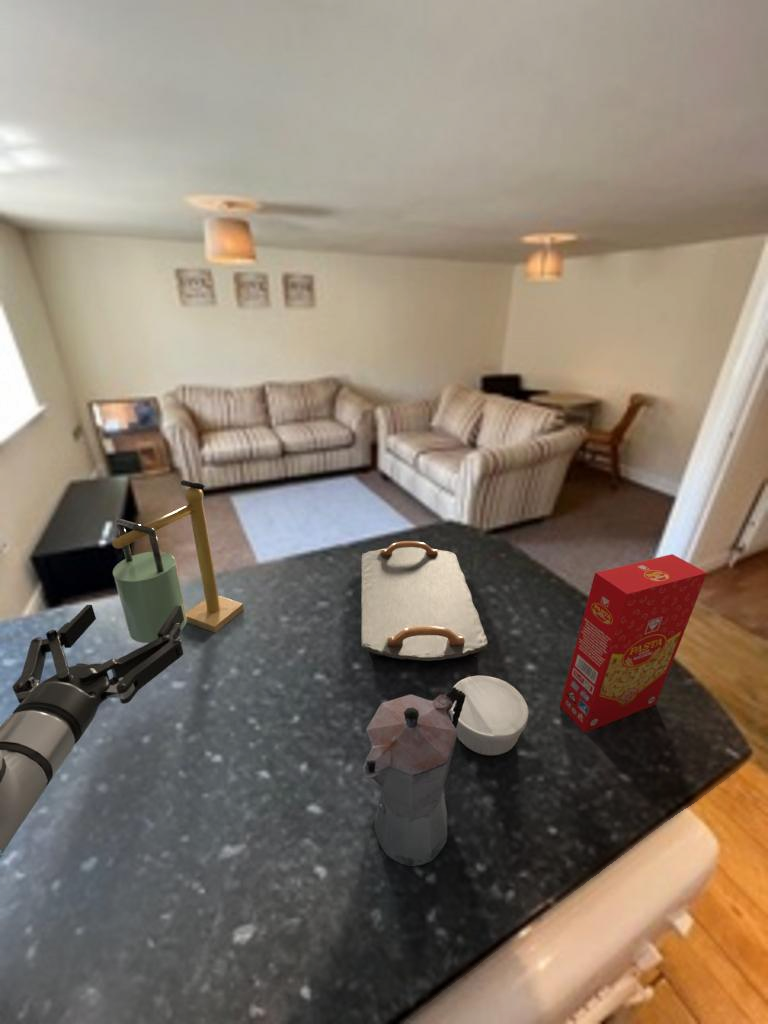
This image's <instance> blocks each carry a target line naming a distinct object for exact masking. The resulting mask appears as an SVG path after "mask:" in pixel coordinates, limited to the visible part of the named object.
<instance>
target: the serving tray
mask: <svg viewBox="0 0 768 1024" xmlns="http://www.w3.org/2000/svg"><path fill="white" fill-rule="evenodd" d="M360 567H361V574H360V578H361V585H360V586H361V593H360V596H361V598H360V601H361V605H360V609H361V613H360V615H361V623H360V625H361V628H360V629H361V631H360V632H361V637H360V638H361V647H362V649H363V650H365V651H367V652H368V654H369V656H370V658H371V659H378V658H379V656H385V657H388V658H392V659H397V660H411V661H420V662H431V661H433V662H434V661H444V660H448V659H457V658H462V657H466V656H469V655H470V654H471V655H472V656H477V657H478V656H479V655H480V654H481V651H483V650H485V649H488V646H489V642H488V639H487V635H486V632H485V630H484V627H483V625H482V622H481V619H480V614H479V612H478V610H477V608H476V607H475V604H474V603H473V596H472V592H471V590H470V588H469V587H468V584H467V580H466V576H465V574H464V573H463V571H462V568H461V566H460V563H459V560H458V557H457V555H456V554H455V553H454V552H451V551H449V550H441V549H437V548H432V547H430V546H429V545H428V544H427V543H425V542H422V541H417V540H404V541H397V542H394V543H392V544H390V545H389V546H388V547H386V548H380V549H375V550H369V551H366V552H364V553H362V554H361V565H360ZM471 655H470V656H471ZM472 656H471V657H472Z"/></svg>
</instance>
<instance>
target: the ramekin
mask: <svg viewBox="0 0 768 1024" xmlns="http://www.w3.org/2000/svg"><path fill="white" fill-rule="evenodd" d="M453 687H455V688H456V689H457V690H458V689H459V691H462V692H463V693H464V694H465V695H466V697H465V701H464V704H463V707H462V711H461V713H460V717H459V719H458V724H457V727H456V731H457V733H458V734H457V738H458V740H459V742H461V744H463V745H464V746H465V747H466V748H468V749H469V750H471V751H473V752H474V753H477V754H479V755H483V756H498V755H502V754H505V753H507V752H509V751H510V750H512V749H513V748H514V747H515V745H516V744H517V742H518V740H519V738H520V736H521V735H522V732H523V731H524V730H525V729H526V727H527V724H528V721H529V707H528V704H527V702H526V699H525V698H524V697H523V695H522V694H521V693H520V692H519V691H518V690H517V688H515V687H514V686H513V685H512V684H510V683H509V682H507V681H505V680H502V679H501V678H498V677H493V676H489V675H473V676H468V677H465V678H463V679H461V680H459V681H457V682H456V684H454V686H453ZM455 703H456V701H455V702H454V704H453V707H452V708H451V709H450V710H449V711H448V712H449V714H450V720H451V721H453V714H454V712H453V708H454V707H455Z"/></svg>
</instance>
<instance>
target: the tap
mask: <svg viewBox="0 0 768 1024" xmlns="http://www.w3.org/2000/svg"><path fill="white" fill-rule="evenodd" d="M180 485H182V486H183V487H187V488H188V489H187V490H186V491H185V493H184V497H185V498H184V499H185V500H186V501H187V504H186V505H184V506H182V507H180V508H177V509H175V510H174V511H172V512H169V513H167V514H165V515H163V516H160V517H159V518H158V517H157V518H156V519H154V520H152V521H150V522H148V523H145V524H144V525H143V526H147V527H150V528H153V529H155V532H157V531H159V530H160V529H163V528H164V527H166V526H169V525H171V524H172V523H173V524H174V523H175V522H177V521H179V520H181V519H182V518H185V517H187V516H190V522H191V528H192V533H193V538H194V543H195V549H196V550H195V551H196V554H197V555H196V556H197V560H198V565H199V571H200V577H201V578H200V579H201V583H202V588H203V589H202V590H203V594H204V599H203V600H202V601H200V602H198V604H196V605H195V606H193V607H192V608H191V609H189V610H188V611H186V615H187V622H186V623H188V622H190V623H189V624H191V623H192V625H194V624H195V625H194V626H196V625H197V627H200V628H202V629H204V630H206V631H209V632H212V633H215V634H216V633H217V632H219V631H220V630H221V629H222V628H224V627H225V626H226V625H227V624H228V623H229V622H231V621H232V620H233V619H234V618H235V617H237V616H238V615H239V614H240V613H242V612H243V611H244V610H245V609H244V608H245V607H244V603H242V602H240V601H237V600H234V599H231V598H228V597H225V596H221V595H219V593H218V588H217V580H216V574H215V568H214V562H213V555H212V550H211V544H210V543H211V542H210V537H209V532H208V526H207V525H208V524H207V519H206V518H207V517H206V513H205V507H204V501H203V500H204V491H203V490H205V485H204V484H203V483H199V482H194V481H190V480H187V479H182V480H181V481H180ZM146 536H149V534H147V533H143V532H140V531H137V530H133V529H132V530H130V531H129V532H126V534H124V535H122V536H118V537H115V538H114V539H113V540H112V543H111V545H112V546H113V548H114V549H123V548H122V547H124V546H126V545H128V544H129V545H130V544H132V543H134V542H136V541H138V540H140V539H142V538H144V537H146Z"/></svg>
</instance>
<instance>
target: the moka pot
mask: <svg viewBox="0 0 768 1024" xmlns="http://www.w3.org/2000/svg"><path fill="white" fill-rule="evenodd" d="M465 697H466V695H465V694H464V693H463V692H462V691H459V689H458V690H457V689H456V688H455V687H454V686H453V687H452V688H450V689H449V691H447V693H446V694H441V693H440V694H439V695H438V696H437V697H436V698H434V699H433V700H430V699H427V698H423V697H421V696H418V695H414V694H408V695H407V694H406V695H404V696H401V697H398V698H395V699H391V700H388V701H385V702H382V703H381V704H379V707H378V708H377V710H376V712H375V713H374V715H373V717H372V719H371V720H370V722H369V724H368V725H367V727H366V730H365V735H366V739H367V745H368V748H369V753H368V755H367V757H366V759H365V761H364V764H363V766H362V776H363V778H364V779H366V780H371V779H372V780H373V781H374V782H375V783H376V784H377V785H378V786H379V794H378V795H379V796H378V802H377V809H376V815H375V823H374V833H375V836H376V838H377V841H378V843H379V845H380V847H381V848H382V850H383V852H384V854H385V855H386V856H387V857H389V858H390V859H392V860H393V861H395V862H397V863H398V864H401V865H404V866H408V867H416V866H421V865H425V864H429V863H431V862H432V861H433V860H434V859H435V858H437V856H438V855H439V854H440V852H441V851H442V850H443V848H444V847H445V846H446V843H447V841H448V811H447V806H446V805H447V804H446V798H445V793H444V786H445V783H446V780H447V777H448V773H449V769H450V765H451V761H452V756H453V752H454V749H455V745H456V742H457V738H458V737H457V734H458V733H457V731H456V727H457V724H458V719H459V717H460V713H461V711H462V707H463V704H464V701H465ZM455 701H456V703H455V707H454V708H453V712H454V714H453V721H452V720H451V717H449V714H448V712H450V711H449V710H450V709H451V708H452V707H453V704H454V702H455Z"/></svg>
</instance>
